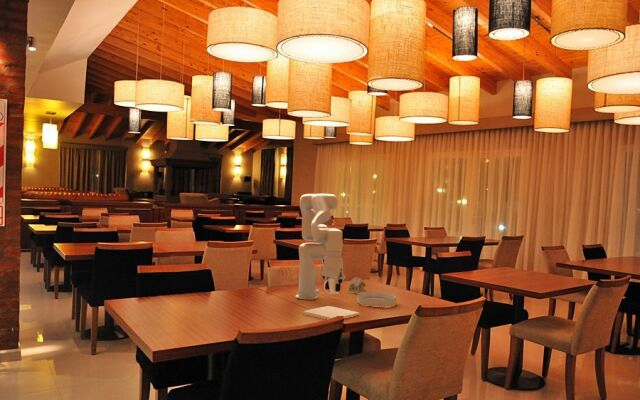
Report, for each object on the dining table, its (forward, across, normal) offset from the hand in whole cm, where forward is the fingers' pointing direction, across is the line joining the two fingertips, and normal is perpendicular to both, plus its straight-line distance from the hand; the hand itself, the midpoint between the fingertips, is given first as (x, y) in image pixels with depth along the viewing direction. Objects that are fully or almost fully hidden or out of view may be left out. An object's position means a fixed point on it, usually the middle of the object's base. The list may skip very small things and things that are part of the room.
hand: (332, 290), depth 261 cm
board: (+12, 0, 0) cm, 12 cm away
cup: (+2, 0, 0) cm, 2 cm away
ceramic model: (+13, -28, +60) cm, 68 cm away
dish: (+13, -1, +42) cm, 44 cm away
